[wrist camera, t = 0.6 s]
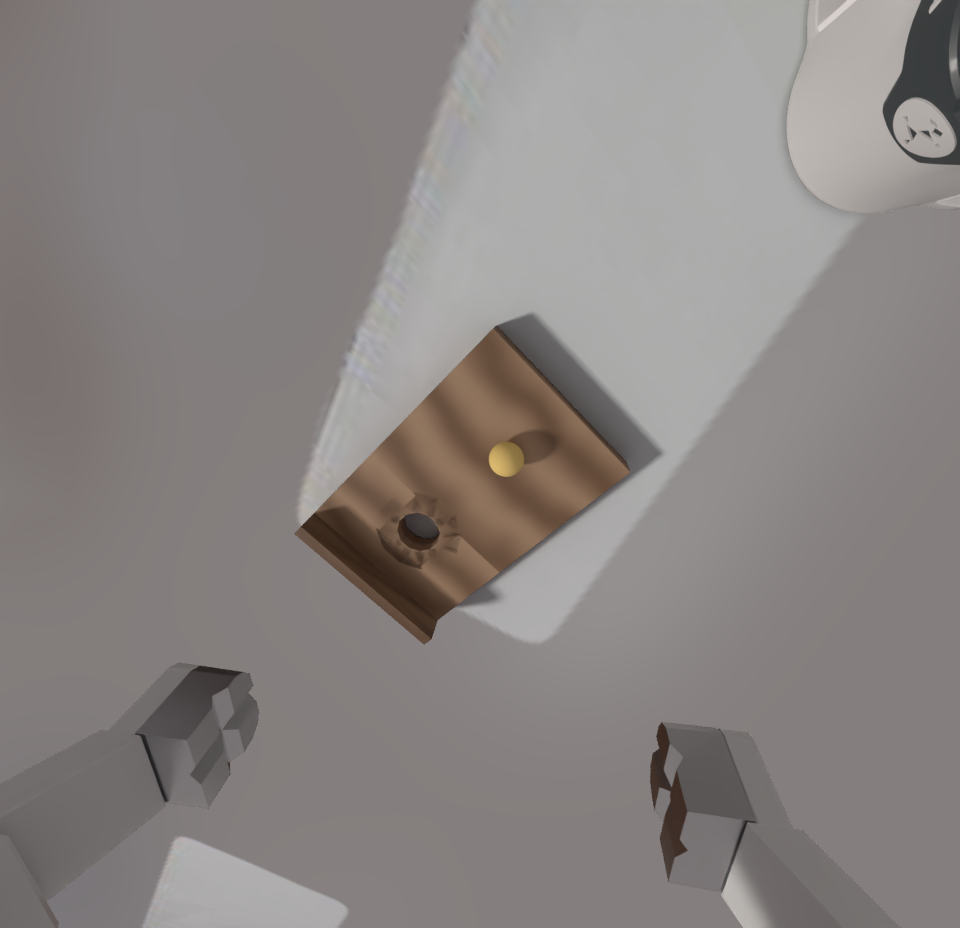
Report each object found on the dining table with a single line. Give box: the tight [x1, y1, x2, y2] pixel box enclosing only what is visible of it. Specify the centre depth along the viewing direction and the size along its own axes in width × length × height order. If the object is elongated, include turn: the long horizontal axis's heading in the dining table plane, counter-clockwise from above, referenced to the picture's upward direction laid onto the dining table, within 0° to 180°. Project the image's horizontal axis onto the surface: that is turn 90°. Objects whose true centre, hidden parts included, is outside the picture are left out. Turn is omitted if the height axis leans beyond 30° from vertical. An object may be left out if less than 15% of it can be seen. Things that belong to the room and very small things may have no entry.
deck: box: [295, 326, 630, 644], centre depth 47 cm, size 28×18×6 cm, turn 135°
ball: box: [489, 442, 524, 477], centre depth 44 cm, size 3×3×3 cm
